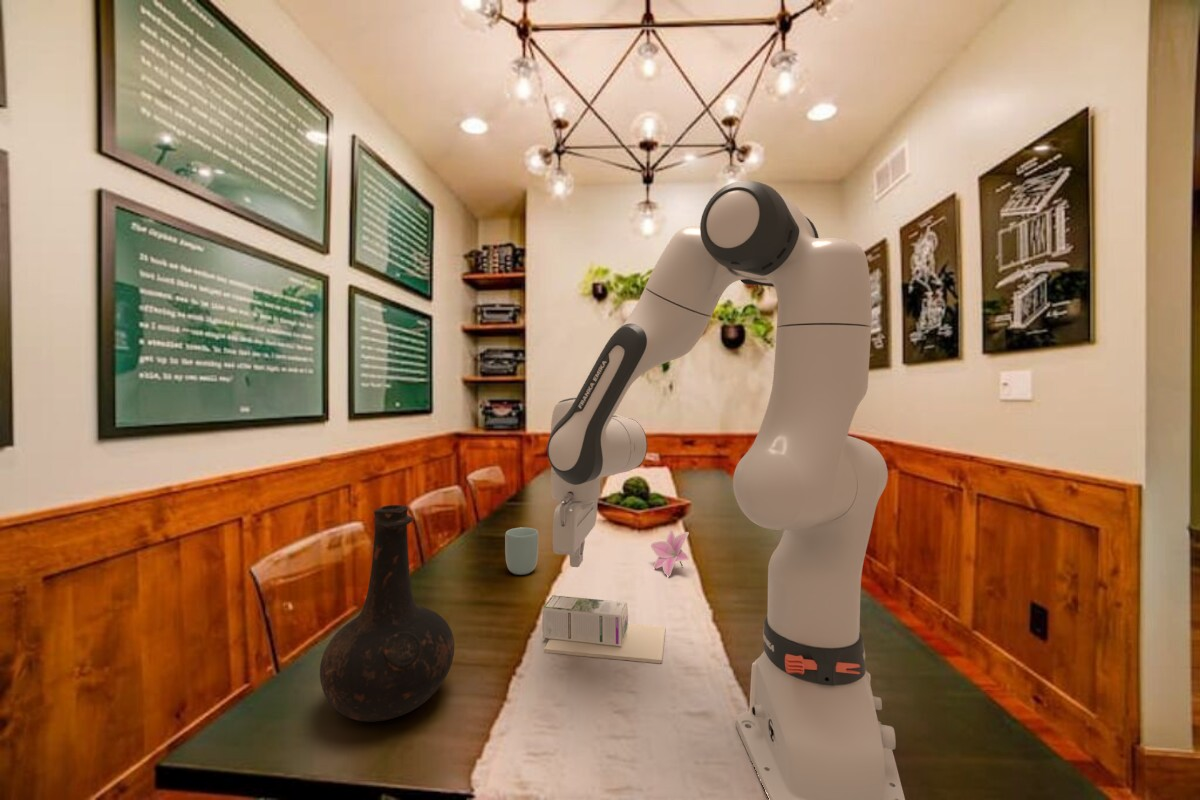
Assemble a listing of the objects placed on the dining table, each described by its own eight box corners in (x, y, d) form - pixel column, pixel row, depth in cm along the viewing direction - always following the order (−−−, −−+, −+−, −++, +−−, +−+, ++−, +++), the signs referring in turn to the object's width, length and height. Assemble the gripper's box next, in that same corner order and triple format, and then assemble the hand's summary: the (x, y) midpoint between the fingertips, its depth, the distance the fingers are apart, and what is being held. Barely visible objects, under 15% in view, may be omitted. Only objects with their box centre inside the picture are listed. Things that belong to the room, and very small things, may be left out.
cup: (544, 570, 127) (544, 530, 127) (523, 580, 121) (523, 538, 120) (520, 564, 131) (520, 525, 131) (498, 573, 125) (498, 532, 125)
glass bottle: (325, 763, 62) (323, 531, 61) (315, 688, 77) (314, 502, 76) (471, 713, 71) (470, 512, 71) (436, 656, 86) (436, 490, 86)
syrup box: (542, 639, 91) (622, 649, 88) (542, 606, 91) (623, 615, 88) (551, 623, 97) (628, 632, 94) (552, 593, 97) (628, 601, 93)
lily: (650, 564, 135) (638, 536, 132) (691, 546, 135) (681, 518, 132) (663, 595, 124) (651, 566, 120) (708, 576, 124) (697, 546, 121)
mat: (662, 663, 84) (662, 660, 84) (544, 652, 88) (544, 648, 88) (665, 629, 96) (665, 626, 96) (561, 621, 100) (561, 617, 100)
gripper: (581, 499, 82) (581, 586, 82) (602, 478, 102) (603, 548, 102) (542, 498, 83) (543, 584, 83) (571, 478, 103) (572, 547, 103)
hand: (576, 564), depth 92 cm, fingers closed
